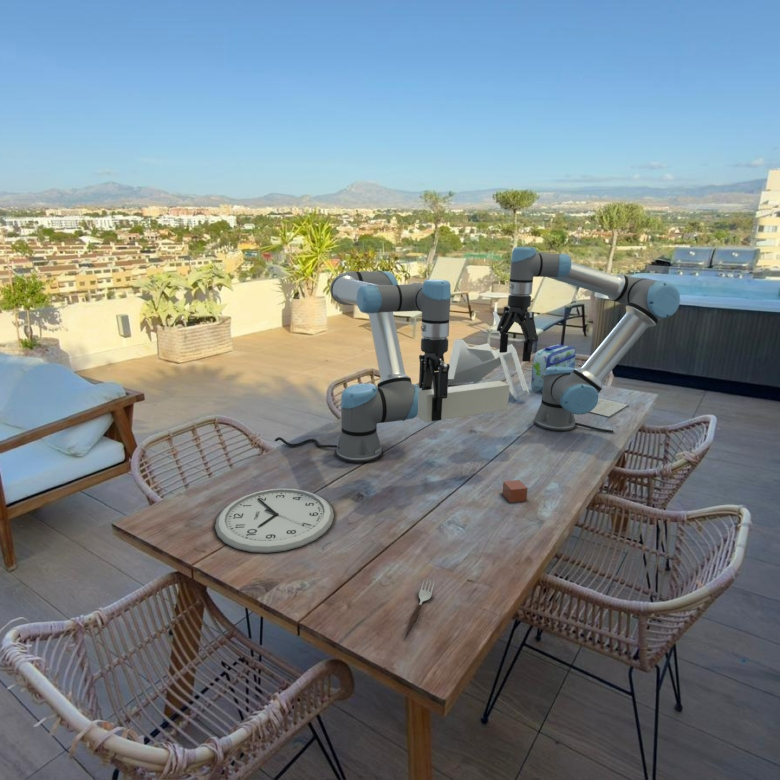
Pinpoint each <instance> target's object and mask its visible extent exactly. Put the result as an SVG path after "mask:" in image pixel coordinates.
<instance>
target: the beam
mask: <svg viewBox="0 0 780 780" xmlns="http://www.w3.org/2000/svg"><path fill="white" fill-rule="evenodd" d="M509 386H510V385H509V384H507V382H504V381H502V380H494V381H486V382H485V381H484V382H477V383H468V384H462V385H461V384H460V385H455V386H448V393H447V398H444V399H442V415H441V420H437V421H436V422H439V421H446V420H452V419H458V418H459V419H460V418H465V417H471V416H472V417H473V416H479V415H484V414H485V415H486V414H492V413H499V412H504V411H508V409H509V396H510V390H509ZM433 397H434V388H432V389H429V390H422V389H421V390H420V391H418V414H417V418H418V419H420V420H421V421H423V422H424V423H432V422H434V421H432V398H433Z"/></svg>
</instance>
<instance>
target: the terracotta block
mask: <svg viewBox="0 0 780 780" xmlns="http://www.w3.org/2000/svg"><path fill="white" fill-rule="evenodd" d="M502 483H503V484H502V495H503V497H504V498H505V499H506V500H507V501H508V502H509V503H519V502H526V501H527V499H528V486H526V485H525V484H524V483H523V482H522V481H521V480H520V479H516V480H506V481H503V482H502Z"/></svg>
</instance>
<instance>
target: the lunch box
mask: <svg viewBox="0 0 780 780" xmlns="http://www.w3.org/2000/svg"><path fill="white" fill-rule="evenodd" d="M576 357H577V355H576V347H575V346H569V345H565V344H554V345H550V346H547V347H544V348H542V349H541V348H540V349H539V350H537V351H536V352H535V353H534V356H533V360H532V367H531V368H532V369H531V382H530V383H531V386H530V387H531V389H532V390H533V391H537V392H542V391H543V381H544V373H545V370H546V368H548V367H571V368H575V364H576Z"/></svg>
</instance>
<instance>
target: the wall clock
mask: <svg viewBox="0 0 780 780" xmlns="http://www.w3.org/2000/svg"><path fill="white" fill-rule="evenodd" d="M334 518H335V514H334V509H333V507H332V506H331V504H330V503H329V502H328V501H327V499H325V498H323V497H321V496H320V495H318V494H316V493H313V492H311V491H307V490H304V489H296V488H270V489H265V490H260V491H256V492H252V493H250V494H246V495H244V496H242V497H240V498H238V499H236V500H234V501H232V502H231V503H229V504H228V505H227V506H226V507H224V508H223V509H222V510H221V511H220V513H219V515H218V516H217V518H216V520H215V525H214V529H215V532H216V535H217V538H218V539H220V540H221V541H222V542H223V543H224V544H226V545H228V546H230V547H232V548H234V549H236V550H240V551H245V552H248V553H249V552H250V553H261V554H262V553H265V554H270V553H277V552H287V551H290V550H293V549H298V548H301V547H304V546H306V545H308V544H311V543H312V542H314V541H316V540H317V539H319V538H321V537H322V536H323V535H325V534H326V532H327V531H328V530H329V529H330V528H331V526H332V525H333V522H334Z"/></svg>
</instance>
